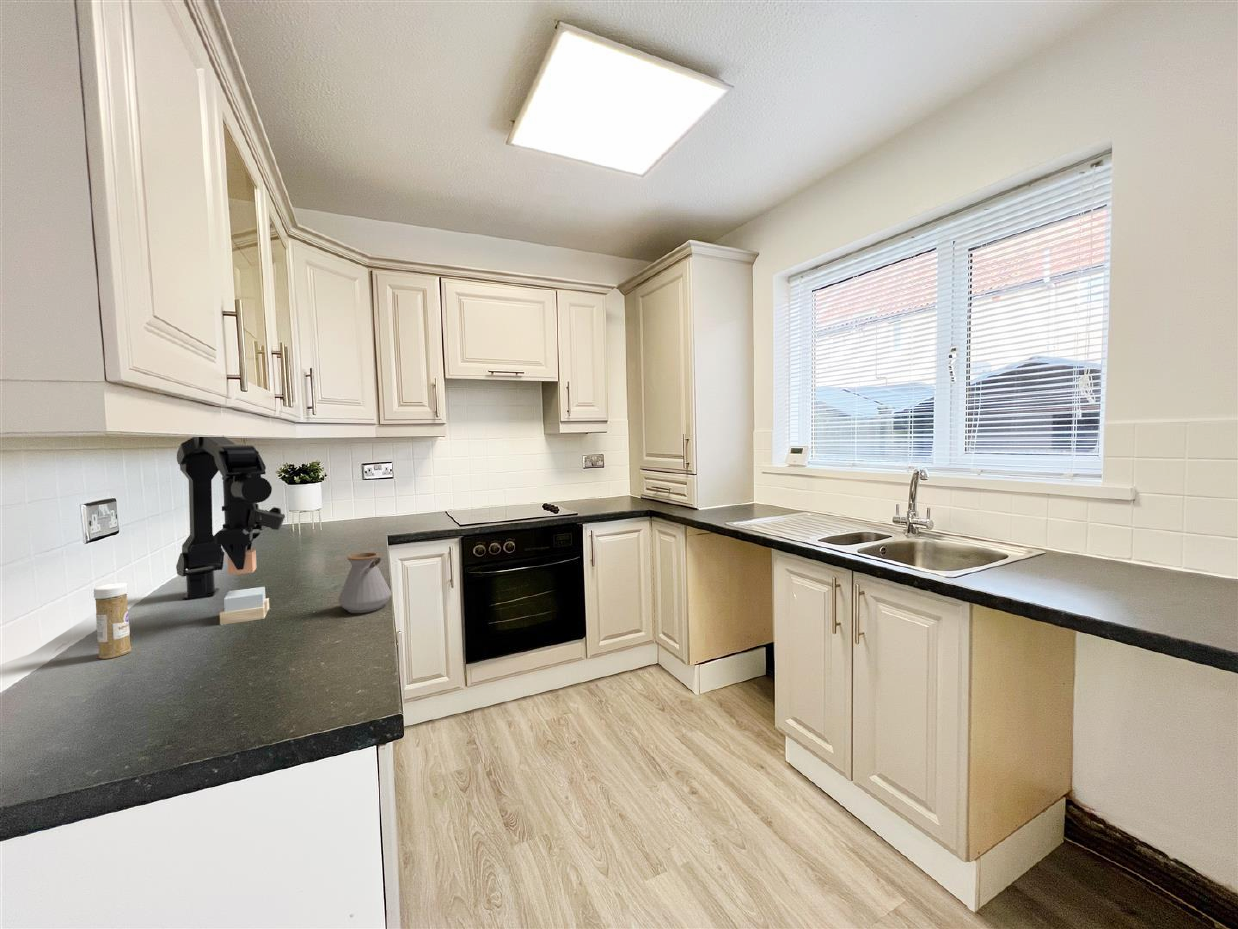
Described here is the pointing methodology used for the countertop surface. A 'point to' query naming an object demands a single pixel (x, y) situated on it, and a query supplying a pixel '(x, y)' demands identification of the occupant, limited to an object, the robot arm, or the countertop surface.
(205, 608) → the countertop surface
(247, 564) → the terracotta cube
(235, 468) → the robot arm
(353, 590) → the coffee pot
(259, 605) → the grey-blue top slab
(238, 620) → the oak base slab
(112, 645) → the sprinkles bottle
